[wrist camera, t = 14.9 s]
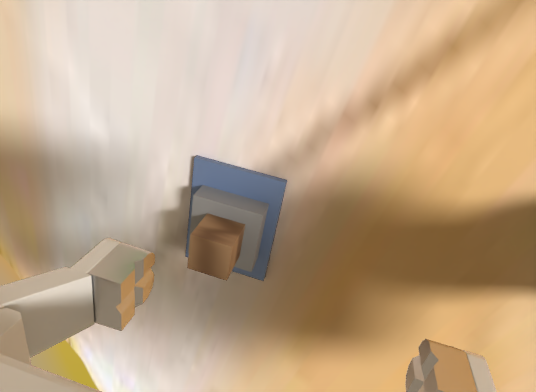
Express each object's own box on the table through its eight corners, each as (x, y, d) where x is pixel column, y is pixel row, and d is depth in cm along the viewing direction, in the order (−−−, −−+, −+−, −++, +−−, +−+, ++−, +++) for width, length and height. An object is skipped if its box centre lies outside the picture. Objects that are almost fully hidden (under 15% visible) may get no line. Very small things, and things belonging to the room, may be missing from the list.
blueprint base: (287, 180, 46) (280, 193, 43) (264, 277, 54) (257, 294, 50) (196, 155, 47) (184, 166, 44) (187, 253, 55) (176, 268, 52)
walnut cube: (245, 224, 46) (232, 247, 41) (239, 256, 48) (226, 280, 44) (207, 213, 46) (190, 234, 42) (203, 245, 49) (187, 267, 44)
